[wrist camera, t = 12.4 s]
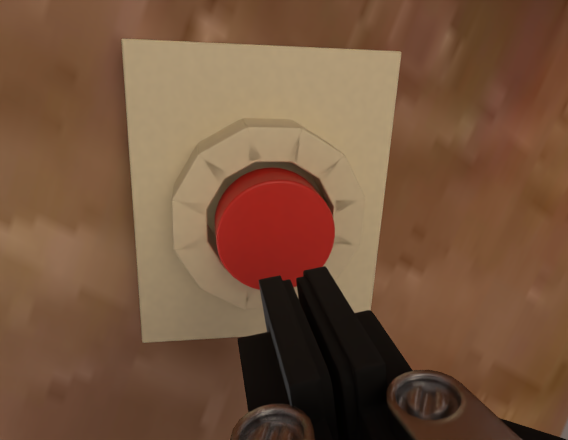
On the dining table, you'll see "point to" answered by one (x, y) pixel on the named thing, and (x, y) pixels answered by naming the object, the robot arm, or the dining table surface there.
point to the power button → (272, 227)
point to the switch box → (248, 166)
